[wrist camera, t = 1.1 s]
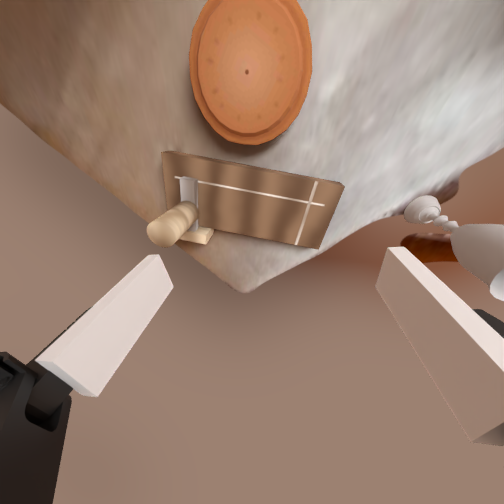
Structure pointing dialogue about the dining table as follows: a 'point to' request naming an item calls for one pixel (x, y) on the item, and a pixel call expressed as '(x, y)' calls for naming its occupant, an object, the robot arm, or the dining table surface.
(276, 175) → the board
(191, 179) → the wooden handled tool
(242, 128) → the pie
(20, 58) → the dining table surface
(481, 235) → the chalice
